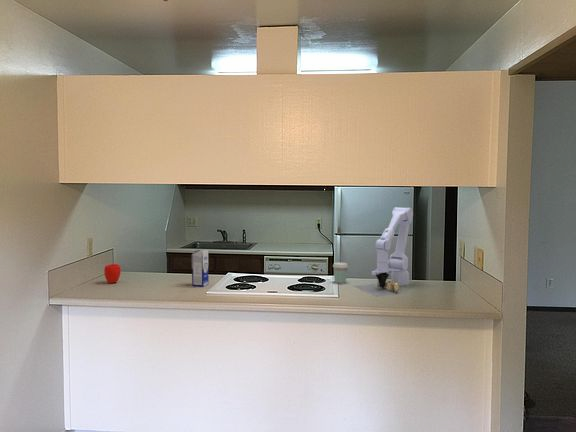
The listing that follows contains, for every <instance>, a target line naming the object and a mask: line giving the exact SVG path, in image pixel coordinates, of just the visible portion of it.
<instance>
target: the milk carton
mask: <svg viewBox="0 0 576 432" xmlns="http://www.w3.org/2000/svg"><path fill="white" fill-rule="evenodd" d="M191 278H192V279H191V287H200V288H204V287H207V286H208V285H209V282H210V280H209V249H204V250H201V251H200V249H197V250H194V253H192V254H191Z"/></svg>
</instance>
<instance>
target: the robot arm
mask: <svg viewBox="0 0 576 432" xmlns="http://www.w3.org/2000/svg"><path fill="white" fill-rule="evenodd" d="M391 215H392V217H391V220H390V222H389V224H388V226H387V227H386V228H385V229H384V230H383V232H382V234H381V236H380V238H379V239H377V240H376V241H375V244H374V247H375V252H376V268H375V270H371V275H372V276H376V278H377V280H378V281H379V285H380V287H384V286H385V282H386V281H387V280H388V278H389V276H390V281H395V282H397V283H399V285H398V287H401V286H403V287H404V286H409V285H410V273H409V271H408V268H409V257H408V256H407V255H406V254H405V253H406V246H407V242H408V235H409V230H410V226H411V225H410V224H412V222H413V216H414V212H413V209H412V207H398V206H395V207H394V208H392V211H391ZM398 225H399V229H398V234H397V239H396V240H397V241H396V244H395V249H394V252H393V253H391V254H390V255H389V251H390V249H391V247H392V246H391V245H392V240H393V238H394V236H395V230H396V229H397V227H398ZM389 273H390V274H389Z"/></svg>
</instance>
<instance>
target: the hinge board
mask: <svg viewBox="0 0 576 432" xmlns="http://www.w3.org/2000/svg"><path fill="white" fill-rule="evenodd" d="M353 288H357V289H359V290H361V291H362V292H363V291H364V292H366V293H367V294H370V295H372V296H375V297H385V296H386V297H387V296H393V295H394V296H396V295H405V294H407V293H406V292H404V291H401V290H398V293H397V294H396V293H394V291H390V290H388V289H385V288H383V287H380V286H377V283H372V284H359V285H353Z"/></svg>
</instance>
